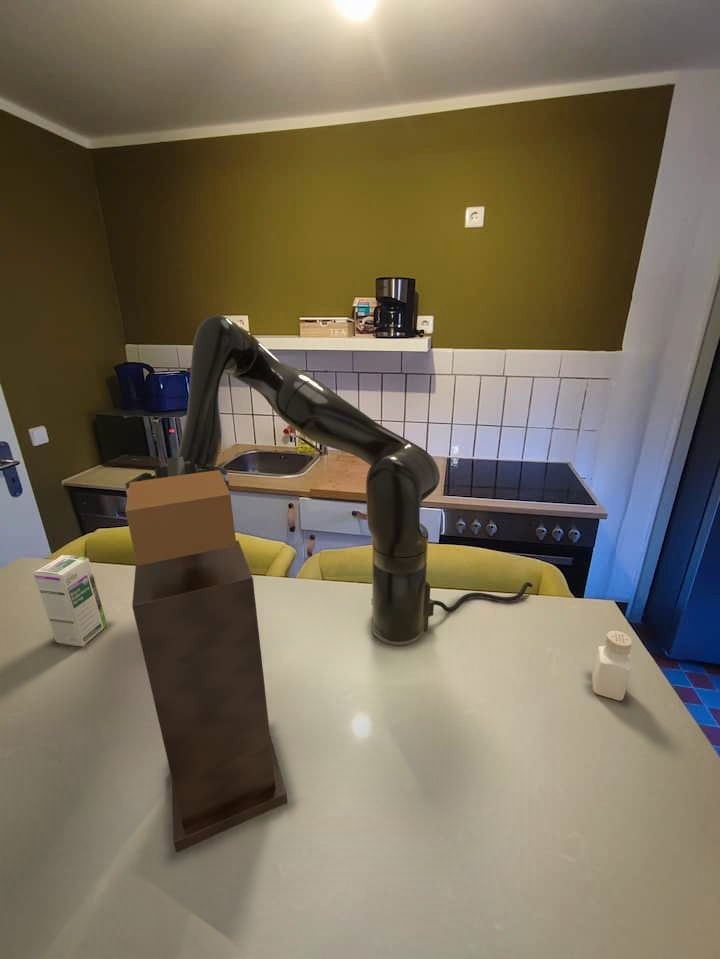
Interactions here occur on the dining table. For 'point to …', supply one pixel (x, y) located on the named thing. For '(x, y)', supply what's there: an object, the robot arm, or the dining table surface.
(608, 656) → the pepper shaker
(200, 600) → the brown wooden tall block
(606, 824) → the dining table surface
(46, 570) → the syrup box
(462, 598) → the robot arm
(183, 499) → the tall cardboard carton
